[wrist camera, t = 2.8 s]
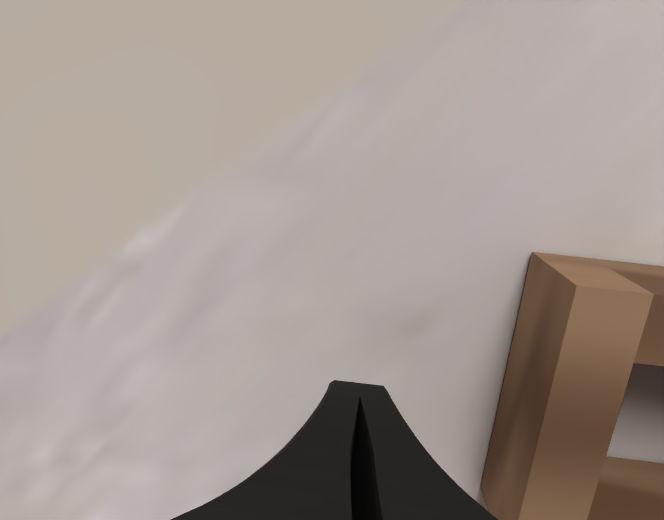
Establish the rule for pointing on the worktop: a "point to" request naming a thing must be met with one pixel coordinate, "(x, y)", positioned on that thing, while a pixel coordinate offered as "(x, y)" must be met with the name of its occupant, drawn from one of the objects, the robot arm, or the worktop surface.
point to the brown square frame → (575, 393)
